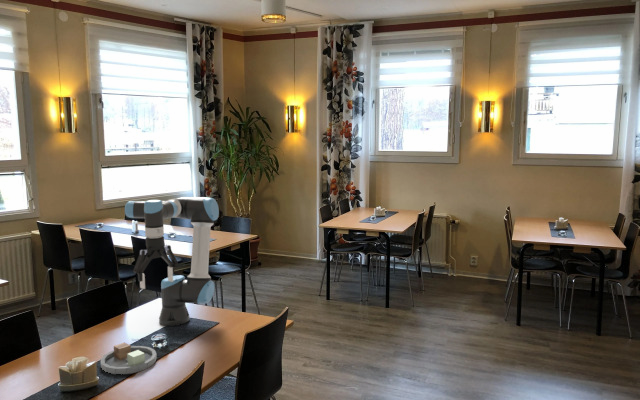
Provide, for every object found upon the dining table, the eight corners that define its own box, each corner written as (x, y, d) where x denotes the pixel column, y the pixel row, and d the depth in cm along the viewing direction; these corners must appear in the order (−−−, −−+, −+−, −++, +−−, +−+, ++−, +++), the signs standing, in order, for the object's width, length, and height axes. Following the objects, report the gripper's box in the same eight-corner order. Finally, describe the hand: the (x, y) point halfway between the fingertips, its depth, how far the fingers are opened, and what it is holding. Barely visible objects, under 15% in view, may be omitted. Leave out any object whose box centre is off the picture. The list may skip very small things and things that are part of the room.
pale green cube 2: (127, 365, 217) (127, 353, 216) (138, 361, 221) (138, 349, 220) (134, 368, 214) (133, 357, 213) (145, 364, 217) (144, 353, 217)
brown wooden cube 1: (114, 357, 225) (113, 345, 224) (125, 353, 228) (124, 342, 228) (120, 360, 222) (119, 349, 221) (131, 356, 225) (130, 345, 225)
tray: (91, 363, 220) (91, 357, 220) (139, 347, 237) (138, 341, 237) (117, 379, 206) (117, 373, 206) (166, 361, 223) (166, 355, 222)
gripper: (132, 242, 210) (134, 293, 213) (184, 233, 229) (186, 280, 232) (122, 239, 215) (125, 289, 218) (174, 231, 234) (176, 276, 237)
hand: (156, 284), depth 225 cm, fingers open, 13 cm apart
